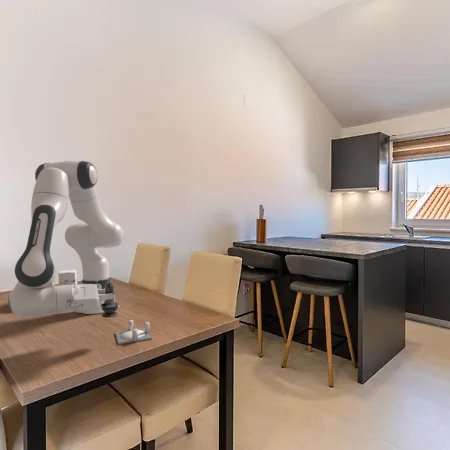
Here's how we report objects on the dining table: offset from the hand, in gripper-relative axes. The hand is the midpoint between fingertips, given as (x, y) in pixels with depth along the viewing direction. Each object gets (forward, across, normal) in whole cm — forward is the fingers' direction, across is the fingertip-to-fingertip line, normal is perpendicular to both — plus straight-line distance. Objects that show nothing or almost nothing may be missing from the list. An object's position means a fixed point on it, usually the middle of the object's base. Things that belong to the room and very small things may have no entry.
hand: (112, 293), depth 115 cm
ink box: (-17, +84, +18) cm, 87 cm away
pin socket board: (+6, +2, +16) cm, 18 cm away
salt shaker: (-1, 0, +7) cm, 7 cm away
